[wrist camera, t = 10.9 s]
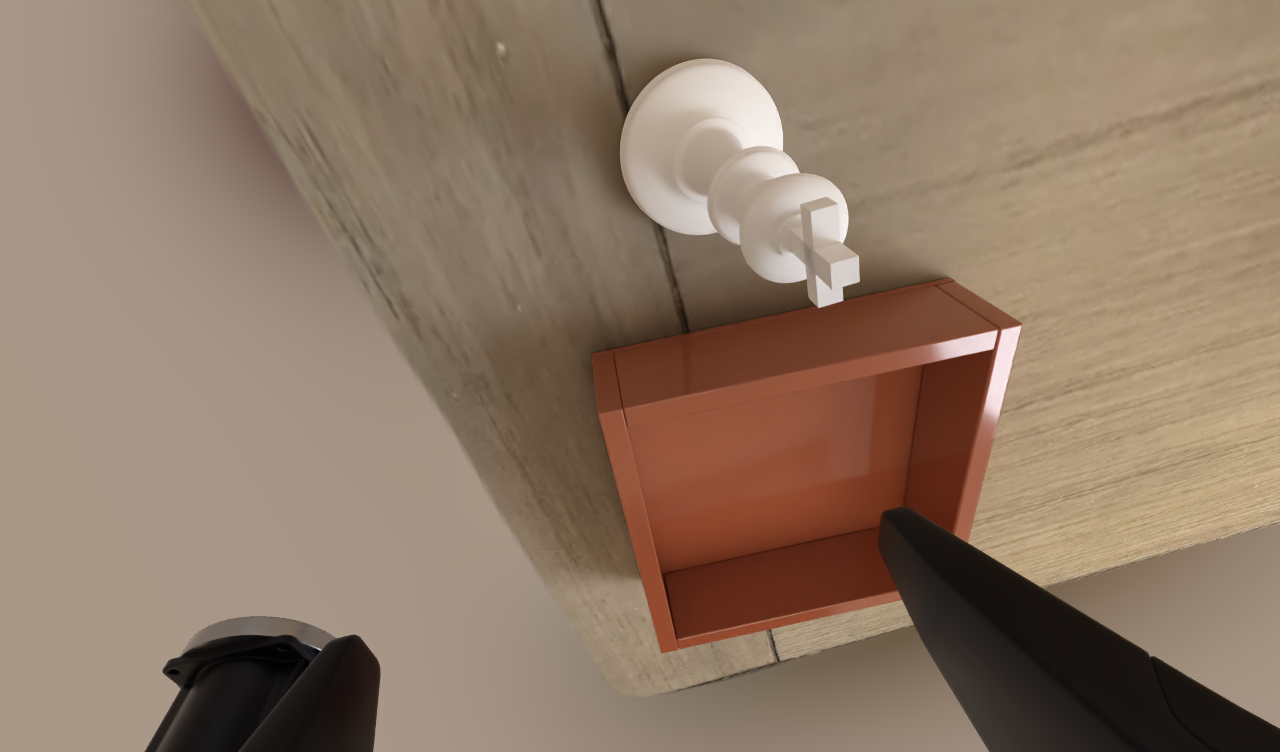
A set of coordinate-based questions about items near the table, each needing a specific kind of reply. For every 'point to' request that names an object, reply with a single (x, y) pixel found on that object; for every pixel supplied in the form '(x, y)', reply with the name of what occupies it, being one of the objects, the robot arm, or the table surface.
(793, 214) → the chess piece
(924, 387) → the open box
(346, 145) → the table surface
